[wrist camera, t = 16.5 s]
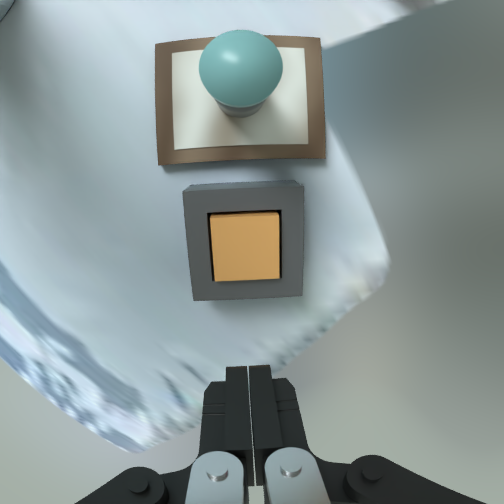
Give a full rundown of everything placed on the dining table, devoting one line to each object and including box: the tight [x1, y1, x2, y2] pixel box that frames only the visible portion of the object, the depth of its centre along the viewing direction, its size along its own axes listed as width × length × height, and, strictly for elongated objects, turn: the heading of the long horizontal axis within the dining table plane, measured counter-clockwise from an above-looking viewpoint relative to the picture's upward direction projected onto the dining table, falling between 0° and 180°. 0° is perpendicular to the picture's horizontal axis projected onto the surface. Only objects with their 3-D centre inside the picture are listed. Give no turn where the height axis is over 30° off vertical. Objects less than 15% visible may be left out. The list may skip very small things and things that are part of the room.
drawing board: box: [155, 35, 326, 165], centre depth 23 cm, size 14×11×1 cm
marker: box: [199, 30, 283, 118], centre depth 18 cm, size 4×4×10 cm
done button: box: [210, 210, 279, 281], centre depth 25 cm, size 5×5×4 cm
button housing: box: [183, 181, 304, 301], centre depth 26 cm, size 9×9×4 cm
